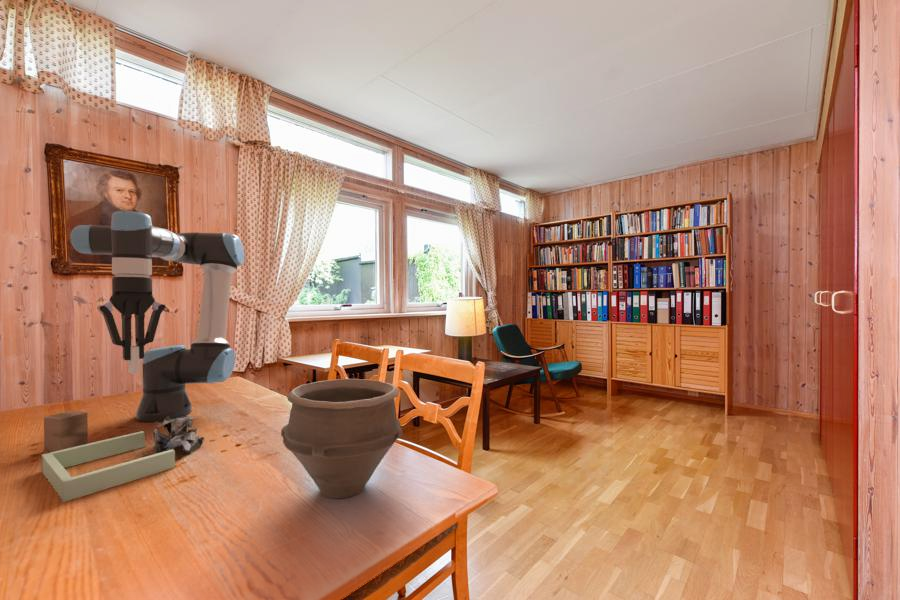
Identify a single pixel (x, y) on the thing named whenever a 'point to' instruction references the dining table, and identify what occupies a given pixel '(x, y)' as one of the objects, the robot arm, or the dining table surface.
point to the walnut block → (65, 430)
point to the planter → (341, 431)
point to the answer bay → (106, 476)
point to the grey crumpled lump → (177, 435)
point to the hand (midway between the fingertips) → (133, 372)
